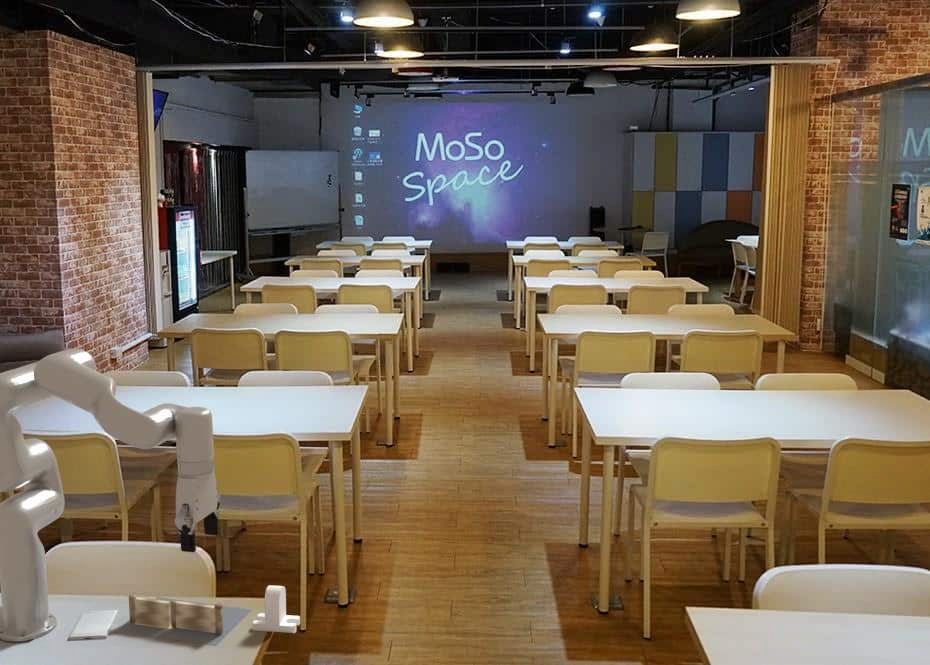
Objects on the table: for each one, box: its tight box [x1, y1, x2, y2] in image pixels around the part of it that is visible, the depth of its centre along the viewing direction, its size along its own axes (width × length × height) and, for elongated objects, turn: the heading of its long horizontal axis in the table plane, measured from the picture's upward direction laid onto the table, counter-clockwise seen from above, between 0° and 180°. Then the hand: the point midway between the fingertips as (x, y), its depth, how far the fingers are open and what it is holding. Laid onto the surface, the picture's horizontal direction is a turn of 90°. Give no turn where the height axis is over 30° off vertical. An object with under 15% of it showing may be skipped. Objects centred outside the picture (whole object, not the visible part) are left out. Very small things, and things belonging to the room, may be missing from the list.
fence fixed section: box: [128, 593, 171, 628], centre depth 222 cm, size 10×2×6 cm, turn 77°
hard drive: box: [68, 609, 120, 641], centre depth 221 cm, size 2×8×12 cm
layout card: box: [115, 596, 253, 646], centre depth 224 cm, size 25×18×1 cm
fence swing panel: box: [170, 599, 224, 634], centre depth 219 cm, size 13×2×7 cm, turn 77°
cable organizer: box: [252, 584, 301, 635], centre depth 222 cm, size 5×10×10 cm, turn 84°
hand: (200, 542), depth 207 cm, fingers open, 9 cm apart
